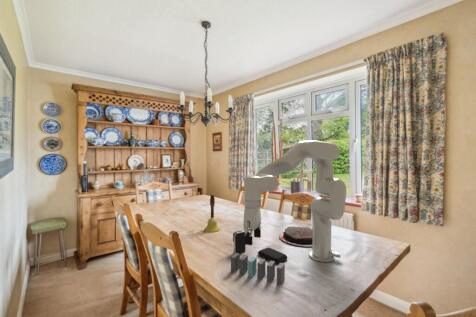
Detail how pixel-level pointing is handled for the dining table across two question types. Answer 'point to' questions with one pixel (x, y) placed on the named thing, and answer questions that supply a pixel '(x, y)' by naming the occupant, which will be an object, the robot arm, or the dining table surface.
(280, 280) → the domino
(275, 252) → the carrying case or bag
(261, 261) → the domino
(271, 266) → the domino
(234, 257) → the domino
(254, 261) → the domino
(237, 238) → the battery charger
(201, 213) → the dining table surface
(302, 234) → the chocolate cake
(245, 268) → the domino
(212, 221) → the handbell
